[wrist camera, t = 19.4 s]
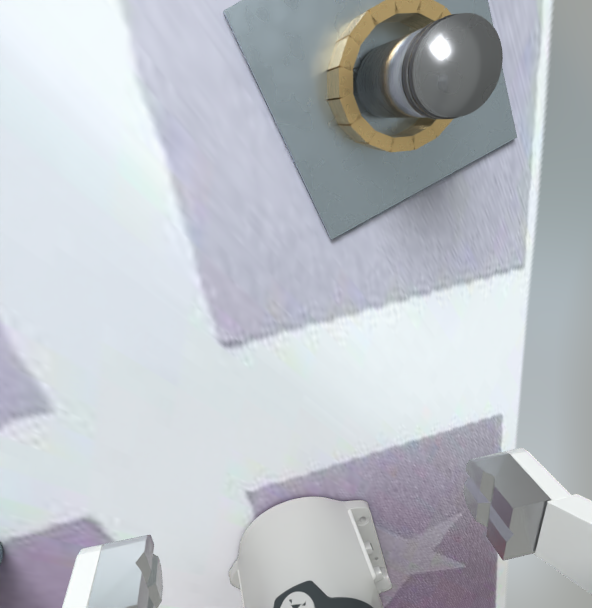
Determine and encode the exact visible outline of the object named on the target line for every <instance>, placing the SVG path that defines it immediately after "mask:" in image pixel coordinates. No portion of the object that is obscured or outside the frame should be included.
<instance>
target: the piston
mask: <svg viewBox="0 0 592 608" xmlns="http://www.w3.org/2000/svg"><path fill="white" fill-rule="evenodd" d="M501 68H502V47H501V42H500V39H499V36H498V34H497V32H496V30H495V28H494V27H493V26H492V25H491V23H490V22H488V21H487V20H486V19H485V18H483V17H482V16H479V15H477V14H473V13H460V14H452V15H448V16H445V17H443V18H441V19H438V20H436V21H434V22H431V23H429V24H428V25H426V26H425V27H424V28H422V29H419V30H417V31H414V32H412V33H409V34H407V35H405V36H402V37H400V38H397V39H395V40H392V41H390V42H388V43H385V44H383V45H380V46H378V47H376V48H375V49H373V50H372V51H371V52H369V53H368V55H367V56H366V57H365V58H364V60H363V61H362V63H361V65H360V68H359V71H358V74H357V93H358V96H359V99H360V101H361V103H362V105H363V106H364V108H365V109H366V110H367V111H368V112H369V113H371V114H372V115H374V116H377V117H381V118H430V119H455V118H458V117H462V116H465V115H468V114H470V113H472V112H474V111H475V110H477V109H478V108H480V107H481V106H482V105H483V104H484V103H485V102H486V101H487V100H488V98H489V97H490V96H491V94H492V92H493V91H494V89H495V87H496V85H497V82H498V80H499V77H500V73H501Z"/></svg>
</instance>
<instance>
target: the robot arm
mask: <svg viewBox="0 0 592 608" xmlns="http://www.w3.org/2000/svg"><path fill="white" fill-rule="evenodd" d="M466 472H467V474H468V475H469V476H470V477H469V478H468V479H467V480H466V482H465V483H464V492H463V493H464V497H465V501H466V505H467V507H468V509H469V511H470V513H471V514H472V516H473V517H474V519H475V520H476V521H477V522H479V523H480V524H482V525H484V526H486V527H487V532H486V537H487V538H488V539H489V541H490V542H491V544H492V545H493V547H494V548H495V550H496V551H497V552H498V554H499V555H500V557H501V558H502V560H508V559H512V558H516V557H520V556H524V555H528V554H533V553H535V556H537V557H538V558H540V559H541V560H543V561H544V562H545V563H547V564H548V565H550V566H551V567H553V568H554V569H555V570H557V571H558V572H560V573H561V574H563V575H564V576H565V577H567V578H569V579H570V580H571V581H573V582H574V583H576V584H577V585H578V586H580V587H581V588H583V589H585V590H586V591H587V592H588V593H590V594H591V595H592V501H591V500H589V499H587V498H584V497H582V496H580V495H578V494H574V495H571V494H570V493H569V492H568V491H567V490H566V489H565V488H564V487H563V486H562V485H561V484H560V483H559V482H558V481H557V480H556V479H555V478H554V477H553V476H552V475H551V474H550V473H549V472H548V471H547V470H546V469H545V468H544V467H543V466H542V465H541V464H540V463H539V462H538V461H537V460H536V459H535V458H534V457H533V456H532V455H531V454H530V453H529V452H528V451H527V450H525V449H523V448H518V449H514V450H510V451H505V452H500V453H495V454H491V455H487V456H483V457H479V458H475V459H471V460H469V461H468V463H467V465H466ZM153 549H154V543H153V540H152V537H151V535H146V536H141V537H136V538H131V539H126V540H121V541H116V542H111V543H106V544H102V545H97V546H93V547H88V548H84V549H81V551H80V552H79V554H78V556H77V557H76V561H75V564H74V568H73V571H72V575H71V578H70V582H69V585H68V589H67V592H66V596H65V599H64V603H63V606H62V608H158V606H159V604H160V603H161V601H162V589H163V586H162V570H161V564H160V561H159V558H158V556H156V555H154V554H153ZM229 578H230V583H231V584H232V585H233V586H235V587H236V588H238V589H240V590H241V596H242V603H243V608H384V607H383V604H382V601H381V599H380V596H379V594H380V593H381V592H384V591H387V590H390V589H391V588H392V584H391V582H390V579H389V577H388V572H387V568H386V565H385V561H384V558H383V554H382V551H381V547H380V544H379V540H378V537H377V533H376V529H375V526H374V522H373V519H372V515H371V512H370V509H369V505H368V503H367V502H366V501H362V500H354V501H337V500H333V499H329V498H324V497H303V498H297V499H293V500H289V501H286V502H283V503H281V504H278V505H276V506H274V507H272V508H270V509H269V510H267V511H265V512H264V513H262V514H261V515H260V516H259V517H257V518H256V519H255V520H254V521H253V522H252V523H251V524H250V525H249V527H248V528H247V529H246V531H245V532H244V534H243V536H242V538H241V541H240V545H239V554H238V558H237V560H236V562H235V563H234V564H233V566H232V568H231V569H230V571H229Z"/></svg>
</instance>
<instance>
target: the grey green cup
mask: <svg viewBox="0 0 592 608" xmlns="http://www.w3.org/2000/svg"><path fill="white" fill-rule="evenodd" d="M2 558H3V550H2V546H1V542H0V564H1V561H2Z"/></svg>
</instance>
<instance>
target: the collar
mask: <svg viewBox="0 0 592 608" xmlns="http://www.w3.org/2000/svg"><path fill="white" fill-rule="evenodd" d="M223 13H224V15H225V17H226V19H227V21H228V23H229V25H230V27H231V30H232V32H233V34H234V36H235V38H236V40H237V42H238V44H239V46H240V49H241V51H242V53H243V55H244V57H245V59H246V61H247V63H248V66H249V68H250V70H251V72H252V74H253V76H254V78H255V80H256V83H257V85H258V87H259V89H260V91H261V93H262V95H263V97H264V99H265V102H266V104H267V106H268V108H269V110H270V112H271V114H272V116H273V119H274V121H275V123H276V125H277V127H278V129H279V131H280V133H281V136H282V138H283V140H284V142H285V144H286V146H287V148H288V150H289V152H290V155H291V157H292V159H293V161H294V163H295V165H296V167H297V169H298V172H299V174H300V176H301V178H302V180H303V182H304V184H305V186H306V188H307V191H308V193H309V195H310V197H311V199H312V201H313V203H314V205H315V208H316V210H317V212H318V214H319V216H320V218H321V220H322V222H323V225H324V227H325V229H326V231H327V233H328V235H329V237H330V239H331V240H332V239H334V238H336V237H337V236H339V235H341V234H343V233H345V232H346V231H348V230H350V229H352V228H354V227H355V226H357V225H359V224H361V223H363V222H365V221H366V220H368V219H370V218H372V217H374V216H375V215H377V214H379V213H381V212H383V211H384V210H386V209H388V208H390V207H392V206H394V205H395V204H397V203H399V202H401V201H403V200H404V199H406V198H408V197H410V196H412V195H413V194H415V193H417V192H419V191H421V190H423V189H424V188H426V187H428V186H430V185H432V184H433V183H435V182H437V181H439V180H441V179H442V178H444V177H446V176H448V175H450V174H452V173H453V172H455V171H457V170H459V169H461V168H462V167H464V166H466V165H468V164H470V163H471V162H473V161H475V160H477V159H479V158H481V157H482V156H484V155H486V154H488V153H490V152H491V151H493V150H495V149H497V148H499V147H500V146H502V145H504V144H506V143H508V142H510V141H511V140H513V139H515V138H517V135H516V130H515V125H514V121H513V116H512V111H511V107H510V102H509V97H508V93H507V88H506V83H505V79H504V74H503V69H502V68H501V73H500V77H499V80H498V82H497V85H496V87H495V89H494V91H493V92H492V94H491V96H490V97H489V98H488V100H487V101H486V102H485V103H484V104H483V105H482V106H481V107H480V108H478V109H477V110H475V111H474V112H472V113H470V114H468V115H465V116H462V117H458V118H455V119H430V118H381V117H377V116H374V115H372V114H371V113H369V112H368V111H367V110H366V109H365V108H364V106H363V105H362V103H361V101H360V99H359V96H358V93H357V74H358V71H359V68H360V65H361V63H362V61H363V60H364V58H365V57H366V56H367V55H368V53H369V52H371V51H372V50H373V49H375V48H376V47H378V46H380V45H383V44H385V43H388V42H390V41H392V40H395V39H397V38H400V37H402V36H405V35H407V34H409V33H412V32H414V31H417V30H419V29H422V28H424V27H425V26H426V25H428V24H429V23H431V22H434V21H436V20H438V19H441V18H443V17H445V16H448V15H452V14H460V13H473V14H477V15H479V16H482V17H483V18H485V19H486V20H487V21H488V22H490V23H491V25H492V26H493V23H492V18H491V13H490V8H489V4H488V0H242V1H240V2H238V3H236V4H235V5H233V6H231V7H229V8H228V9H226V10H224V12H223Z"/></svg>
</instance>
